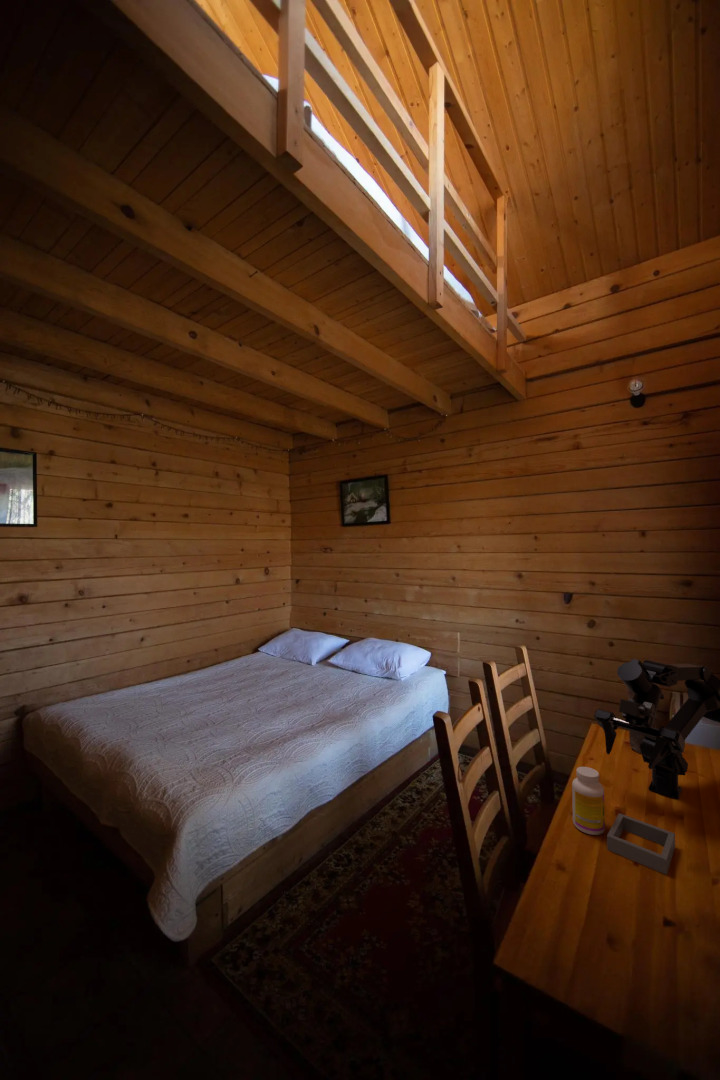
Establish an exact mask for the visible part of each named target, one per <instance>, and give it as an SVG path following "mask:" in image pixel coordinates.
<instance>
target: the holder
mask: <svg viewBox="0 0 720 1080" xmlns="http://www.w3.org/2000/svg"><path fill="white" fill-rule="evenodd" d="M623 831H625V832H627V833H630V834H633V835H636V836H638V837H640V838H643V839H646V840H648V841H650V842H653V843H655V844H658V845H661V846H663V848H662V852H661V854H660V853H657V852H655V851H653V850H651V849H647V848H646V847H643V846H640V845H638V844H636V843H632V842H631V841H628V840H625V839H623V838H622V837H621V836H622V833H623ZM620 837H621V838H620ZM606 849H607V851H610V852H612V853H614V854H616V855H618V856H621V857H623V858H626V859H628V860H629V861H630V860H631V861H633V862H635V863H638V864H640V865H642V866H645V867H646V868H649V869H652V870H654V871H656V872H658V873H661V874H663V875H665V876H667V875H668V872H669V869H670V866H671V863H672V859H673V856H674V852H675V849H676V834H675V833H674V832H671V831H668V830H667V829H663V828H661V827H658V826H655V825H652V824H650V823H648V822H645V821H642V820H639V819H636V818H634V817H631V816H629V815H625V814H623V813H620V812H619V813H618V814H617V816H616V818H615V819H614V821H613V824H612V825H611V828H610V829H609V831H608V832H607V835H606Z"/></svg>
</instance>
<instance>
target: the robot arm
mask: <svg viewBox="0 0 720 1080" xmlns="http://www.w3.org/2000/svg"><path fill="white" fill-rule="evenodd" d="M616 673H617V676H618V677H619V679H620V681H622V683H623V684H624V685H625V687H626V688H627V690H628V689H629V690H630V691H631V692H633V697H632V699H629V701H628V699H624V698H623V699H622V698H620V700H619V705H618V712H619V713H621V716H622V718H624V720H623V719H621V718H617V717H616V715H615V713H614V712H613V711H609V710H606V709H602V708H597V709H596V710H595V711H594V713H593V714H594V715H593V718H594V720H595V721H596V722H597V724H598V726H599V727H600V728H602V730H603V732H604V739H605V753H606V754H607V755H610V754H611V752H612V750H613V747H614V744H615V741H616V738H617V732H616V730H618V728H621V729H624V730H628V731H629V730H631V731H634V732H637V733H641V734H644V737H645V738H644V739H643V740H642V741H641V743H640V750H641V754H640V755H641V757H642V760H643V763H644V762H645V763H648V769H649V770H651V779H652V780H651V782H650V784H649V786H648V790H649V791H651V792H653V793H657V794H660V795H663V796H666V797H670V798H672V799H676V800H677V799H679V798H680V797H681V794H682V793H681V792H682V791H683V787H682V786H679V776H686V773H687V772H688V767H689V763H688V762H687V760H686V759H685V758H684V757H683V756H684V755H683V753H684V752H685V747H686V742H685V741H686V739H687V737H689V736H690V734H691V733H692V731H693V730H694V729H695V728H696V727H697V725H698V723H700V721H701V720H702V718H703V717H704V716H705V715H706V713H708V712H712V711H716V710H719V709H720V679H719V677H717V676H716V675H714V673H712V671H711V669H710V667H709V666H708V667H707V665H704V664H698V663H694V662H687V663H664V662H659V661H655V660H651V659H645V660H643V662H642V661H641V660H639V659H635V658H631V659H630V661H628V662H624V663H622V664H620V665H619V666H618V668H617V670H616ZM678 681H684V685H685V686H686V693H687V696H688V697H687V699H686V701H684V703H683V704H682V705H681V707H680V708H679V709H678V710H677V711H676V713H675V714H674V715H673V716H672V718H671V719H670V720H669V721H668V723H666V725H661V726H660V727H659V728H657V727H656V728H654V727H653V723H654V720H655V719H656V720H657V718H658V714H657V711H658V707H659V704H660V701H661V700H665V695H664V694H663V691H662V689H661V688H660V686H664V687H667V688H670V687H673V686H677V684H678ZM659 685H660V686H659ZM652 727H653V728H652Z"/></svg>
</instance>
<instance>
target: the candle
mask: <svg viewBox="0 0 720 1080" xmlns="http://www.w3.org/2000/svg"><path fill="white" fill-rule="evenodd" d="M632 697H633V692H631V691H630V690H629V689H628V688H627V701H629V699H632ZM656 720H657V719H655V720H654V723H653V727H654V728H657V721H656ZM653 727H652V728H653ZM628 733H629V734H628V736H629V746H630V748H631V749H633V750H634V751H635V752H636V753H638V754H640V755H642V754H641V750H640V743H641V741H642V740H643V739H644V738H645V737H644V734H641V733H637V732H634V731H631V730H628Z"/></svg>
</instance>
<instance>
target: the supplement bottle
mask: <svg viewBox="0 0 720 1080" xmlns="http://www.w3.org/2000/svg"><path fill="white" fill-rule="evenodd" d="M599 780H600V773H599V772H598V771H597V770H596V769H594V768H592V767H589V766H578V767H577V768H576V777H575V778H574V779H573V781H572V783H571V785H572V786H571V787H572V788H571V789H572V791H571V794H572V797H571V798H572V799H571V800H572V802H571V803H572V823H573V825H574V826H575V828H576V829H578V830H579V831H581V832H583V833H584V834H587V835H592V836H599V835H602V834H603V833H605V830H606V825H605V824H606V819H605V816H606V814H605V789H604V786H603V785H602V784H601V782H599Z"/></svg>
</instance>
